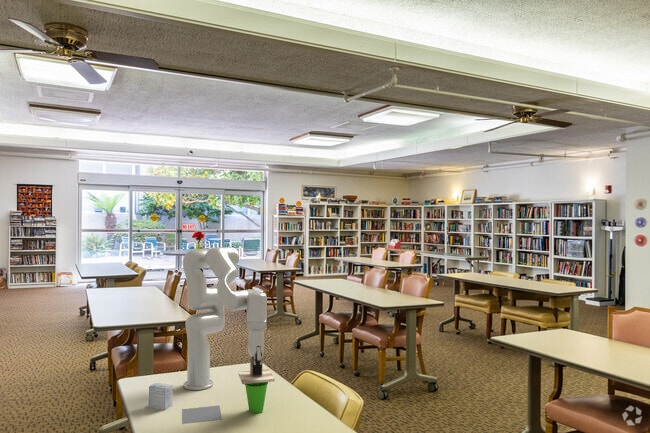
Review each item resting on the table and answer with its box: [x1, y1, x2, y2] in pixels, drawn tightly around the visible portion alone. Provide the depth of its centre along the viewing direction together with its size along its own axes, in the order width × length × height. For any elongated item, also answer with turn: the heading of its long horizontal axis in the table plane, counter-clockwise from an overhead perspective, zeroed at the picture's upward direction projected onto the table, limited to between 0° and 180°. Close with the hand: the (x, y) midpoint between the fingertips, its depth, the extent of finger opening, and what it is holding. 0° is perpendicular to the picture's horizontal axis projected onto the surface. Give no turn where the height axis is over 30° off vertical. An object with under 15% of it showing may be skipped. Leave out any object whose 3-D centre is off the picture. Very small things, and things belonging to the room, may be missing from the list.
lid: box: [238, 355, 276, 385], centre depth 183 cm, size 12×12×8 cm
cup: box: [243, 382, 269, 414], centre depth 183 cm, size 9×9×11 cm
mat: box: [181, 405, 223, 425], centre depth 179 cm, size 14×14×1 cm
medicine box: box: [148, 382, 173, 411], centre depth 187 cm, size 8×4×9 cm, turn 71°
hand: (256, 372), depth 183 cm, fingers closed on lid, 3 cm apart
